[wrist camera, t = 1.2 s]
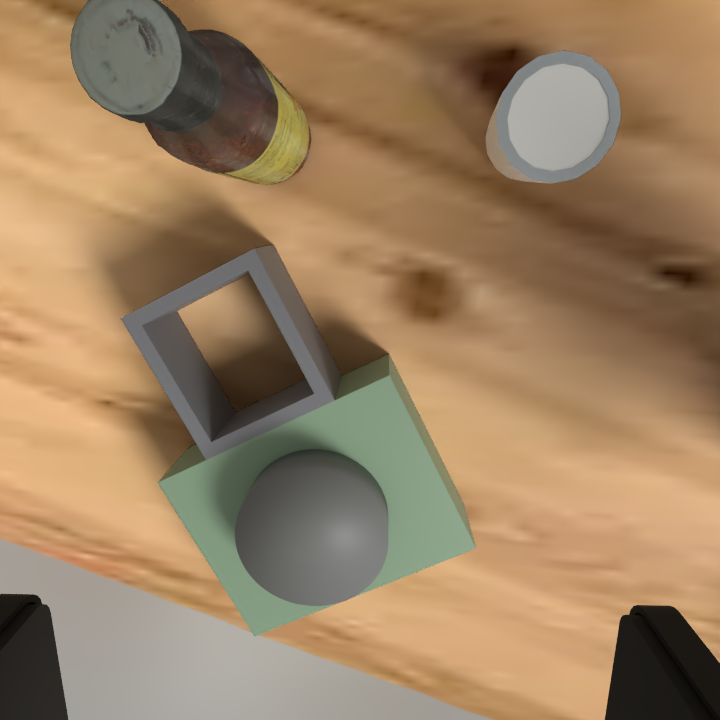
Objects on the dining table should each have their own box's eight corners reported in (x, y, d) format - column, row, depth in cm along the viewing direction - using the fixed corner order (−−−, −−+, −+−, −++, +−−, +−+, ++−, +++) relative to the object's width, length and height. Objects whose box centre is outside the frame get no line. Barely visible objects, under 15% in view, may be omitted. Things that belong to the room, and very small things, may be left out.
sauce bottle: (316, 95, 36) (238, -48, 17) (309, 191, 38) (230, 158, 19) (221, 86, 37) (38, -66, 17) (218, 182, 38) (47, 139, 19)
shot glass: (548, 206, 38) (583, 202, 31) (459, 166, 37) (475, 154, 30) (597, 108, 36) (645, 81, 29) (504, 65, 36) (531, 28, 29)
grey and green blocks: (322, 219, 38) (303, 218, 30) (464, 504, 43) (483, 575, 35) (115, 327, 41) (42, 355, 32) (271, 584, 46) (244, 668, 37)
